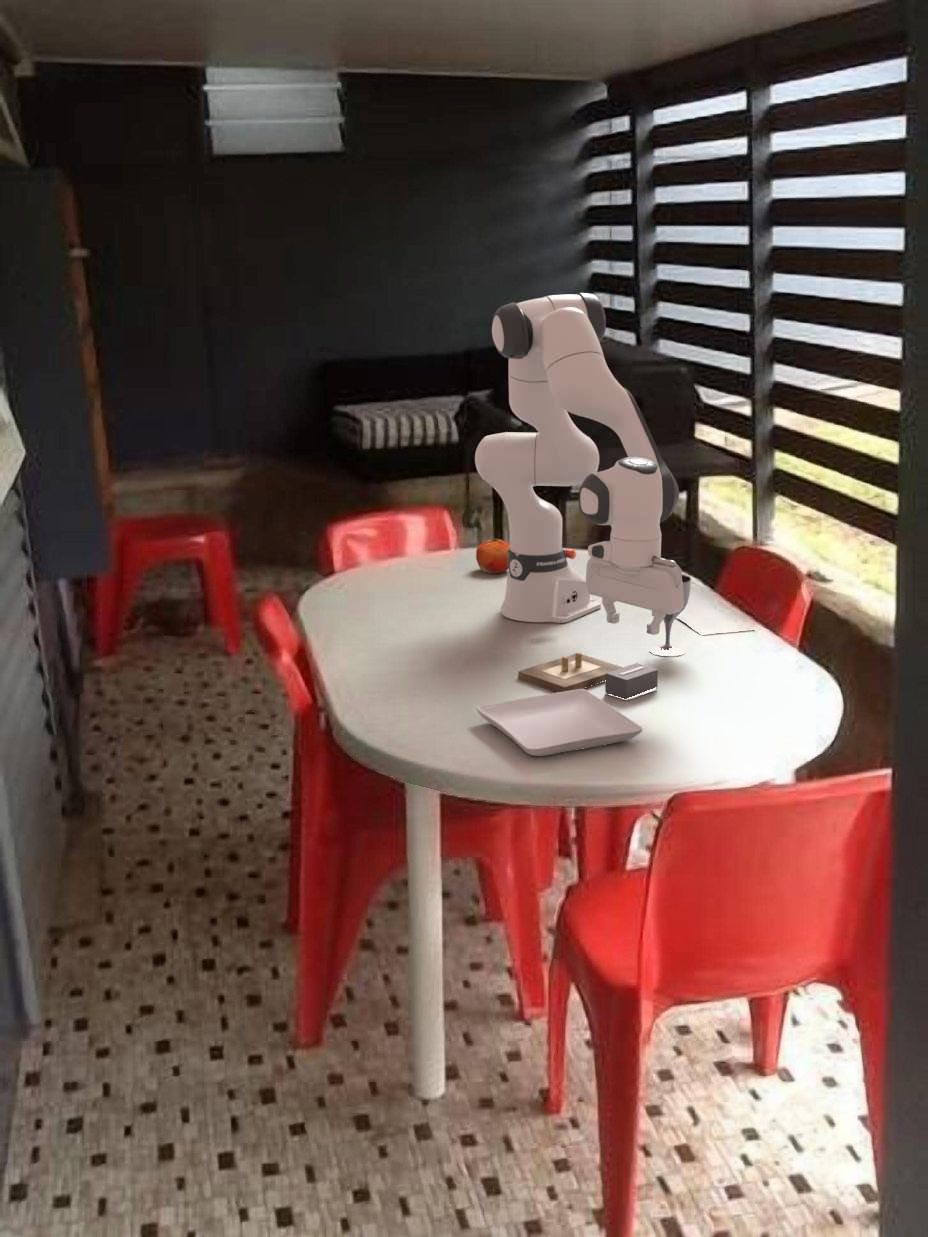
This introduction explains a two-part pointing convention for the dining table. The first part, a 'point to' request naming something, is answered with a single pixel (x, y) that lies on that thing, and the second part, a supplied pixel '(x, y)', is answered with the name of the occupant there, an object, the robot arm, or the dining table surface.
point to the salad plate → (559, 722)
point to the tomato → (493, 556)
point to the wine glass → (670, 618)
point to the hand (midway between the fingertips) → (632, 628)
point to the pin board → (568, 673)
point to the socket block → (631, 680)
